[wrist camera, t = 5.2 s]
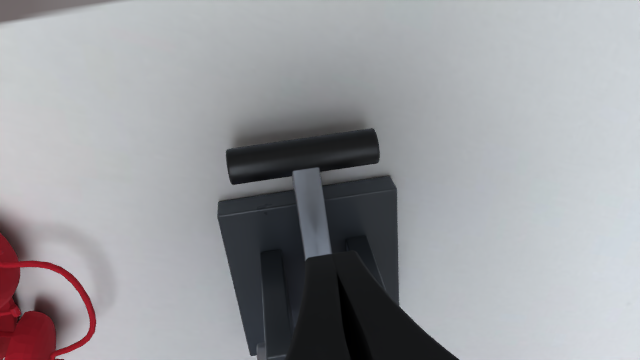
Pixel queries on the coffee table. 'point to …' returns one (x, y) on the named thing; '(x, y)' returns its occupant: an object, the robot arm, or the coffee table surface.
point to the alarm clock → (31, 314)
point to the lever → (305, 173)
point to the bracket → (302, 253)
